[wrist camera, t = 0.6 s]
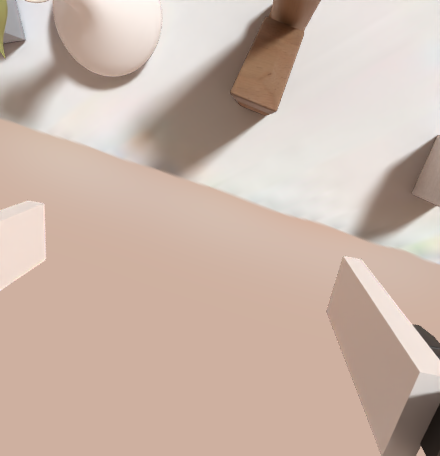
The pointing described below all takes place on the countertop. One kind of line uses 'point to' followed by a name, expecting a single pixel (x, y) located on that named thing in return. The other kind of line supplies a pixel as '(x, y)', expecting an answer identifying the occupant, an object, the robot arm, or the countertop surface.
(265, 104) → the wooden block
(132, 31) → the flower in vase
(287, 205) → the countertop surface
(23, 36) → the holed block
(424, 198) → the tea bag
